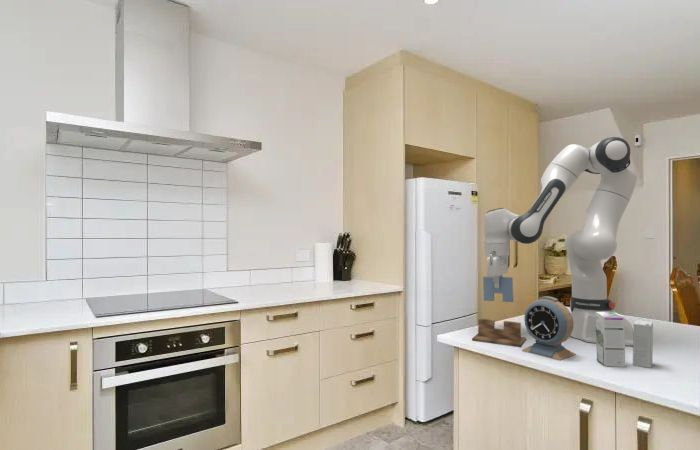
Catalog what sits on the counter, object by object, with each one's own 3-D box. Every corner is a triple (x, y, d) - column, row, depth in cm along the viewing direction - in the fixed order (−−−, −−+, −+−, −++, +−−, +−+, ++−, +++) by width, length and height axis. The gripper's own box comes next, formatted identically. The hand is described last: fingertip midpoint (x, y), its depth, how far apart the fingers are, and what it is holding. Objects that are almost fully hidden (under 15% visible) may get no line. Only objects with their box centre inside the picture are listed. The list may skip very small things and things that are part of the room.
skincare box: (634, 360, 122) (634, 319, 122) (653, 363, 119) (653, 321, 119) (632, 365, 117) (631, 322, 117) (651, 368, 114) (651, 325, 114)
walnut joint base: (526, 339, 145) (525, 320, 145) (520, 347, 136) (520, 326, 136) (480, 333, 153) (479, 315, 154) (472, 340, 144) (472, 321, 144)
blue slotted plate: (513, 301, 154) (512, 277, 154) (512, 302, 152) (511, 277, 152) (485, 299, 159) (484, 276, 159) (483, 300, 158) (483, 277, 158)
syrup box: (626, 367, 115) (625, 315, 116) (603, 366, 116) (602, 314, 117) (617, 361, 121) (617, 311, 121) (595, 360, 122) (595, 311, 122)
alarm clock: (518, 350, 132) (518, 295, 133) (535, 345, 138) (535, 292, 138) (563, 361, 121) (562, 301, 121) (579, 355, 127) (578, 298, 127)
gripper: (499, 252, 145) (501, 291, 145) (510, 249, 163) (511, 284, 163) (481, 252, 149) (482, 290, 148) (494, 249, 166) (495, 283, 166)
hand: (498, 287), depth 156 cm, fingers closed on blue slotted plate, 2 cm apart
